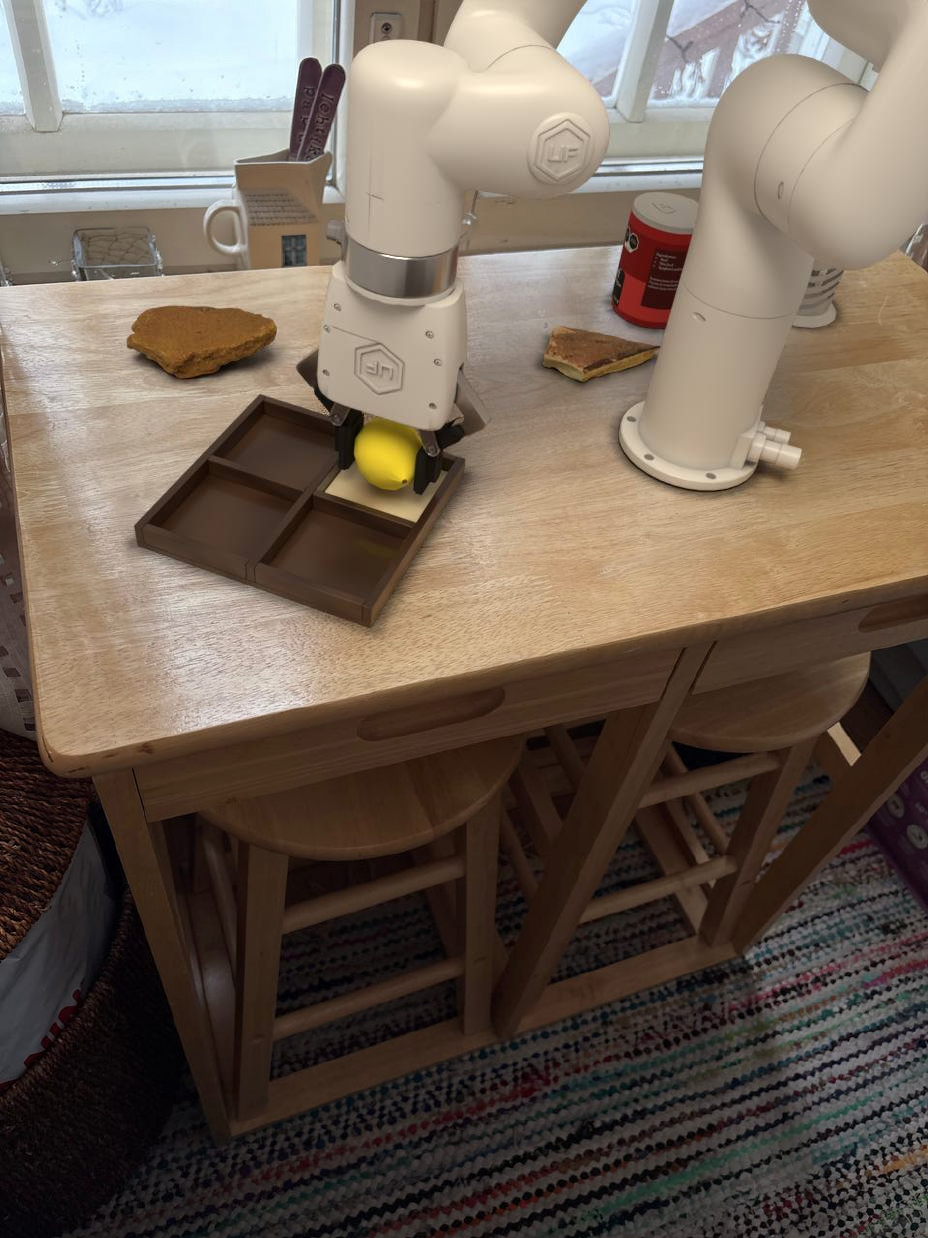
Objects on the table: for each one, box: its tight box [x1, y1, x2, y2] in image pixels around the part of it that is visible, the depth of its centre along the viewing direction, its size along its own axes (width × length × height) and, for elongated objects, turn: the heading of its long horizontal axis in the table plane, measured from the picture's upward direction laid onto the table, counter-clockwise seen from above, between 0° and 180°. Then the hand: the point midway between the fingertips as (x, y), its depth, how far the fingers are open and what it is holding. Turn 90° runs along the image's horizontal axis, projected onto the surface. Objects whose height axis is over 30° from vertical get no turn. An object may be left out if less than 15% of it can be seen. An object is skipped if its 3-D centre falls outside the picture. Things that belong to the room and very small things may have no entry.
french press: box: [792, 64, 881, 329], centre depth 100 cm, size 10×12×25 cm
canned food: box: [610, 191, 699, 329], centre depth 101 cm, size 8×8×11 cm
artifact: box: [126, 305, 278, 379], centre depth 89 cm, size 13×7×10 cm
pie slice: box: [542, 325, 661, 383], centre depth 95 cm, size 11×8×2 cm
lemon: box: [354, 416, 423, 490], centre depth 77 cm, size 7×5×5 cm
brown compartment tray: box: [133, 393, 467, 629], centre depth 77 cm, size 19×19×2 cm
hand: (387, 470), depth 78 cm, fingers closed on lemon, 5 cm apart
